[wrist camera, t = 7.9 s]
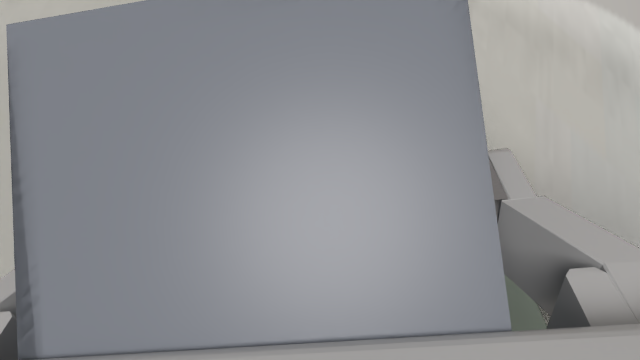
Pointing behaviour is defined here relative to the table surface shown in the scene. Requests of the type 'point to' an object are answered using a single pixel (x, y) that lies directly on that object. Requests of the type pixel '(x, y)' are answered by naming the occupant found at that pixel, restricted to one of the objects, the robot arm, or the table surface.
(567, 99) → the table surface
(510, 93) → the table surface
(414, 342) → the robot arm
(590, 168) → the table surface
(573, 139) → the table surface
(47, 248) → the gray box
